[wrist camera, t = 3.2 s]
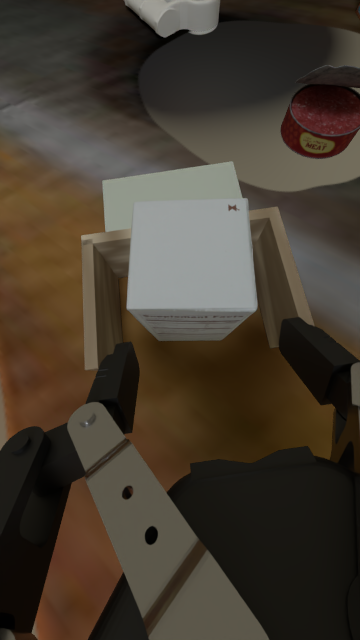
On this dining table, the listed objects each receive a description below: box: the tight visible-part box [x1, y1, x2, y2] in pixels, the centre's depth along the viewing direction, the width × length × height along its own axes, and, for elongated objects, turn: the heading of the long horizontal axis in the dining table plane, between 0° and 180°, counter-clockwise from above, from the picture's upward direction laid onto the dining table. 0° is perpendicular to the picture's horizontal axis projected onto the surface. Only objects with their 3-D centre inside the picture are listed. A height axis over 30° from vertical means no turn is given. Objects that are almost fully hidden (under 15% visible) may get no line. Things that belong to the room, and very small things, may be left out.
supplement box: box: [126, 198, 257, 341], centre depth 18 cm, size 7×7×13 cm
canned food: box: [280, 65, 360, 159], centre depth 27 cm, size 11×10×10 cm
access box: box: [81, 207, 315, 370], centre depth 21 cm, size 18×12×7 cm, turn 98°
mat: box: [102, 162, 243, 232], centre depth 27 cm, size 18×12×1 cm, turn 98°
